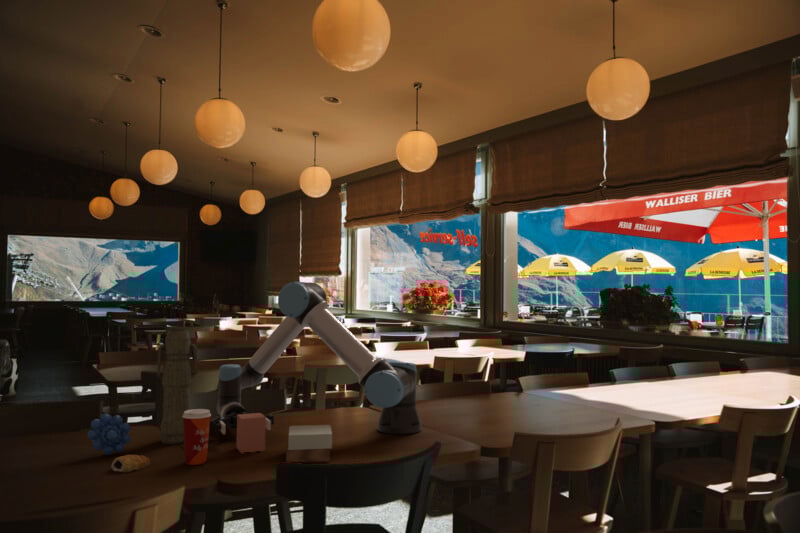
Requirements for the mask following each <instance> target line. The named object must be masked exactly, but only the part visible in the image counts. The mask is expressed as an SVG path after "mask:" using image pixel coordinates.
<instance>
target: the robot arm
mask: <svg viewBox="0 0 800 533" xmlns="http://www.w3.org/2000/svg"><path fill="white" fill-rule="evenodd" d="M327 300H328V299H327V294H326V291H325V289H324V288H323V287H322V286H321V285H320V284H317V283H316V282H305V281H303V282H302V281H293V282H289V283H287V284H285V285H284V286H283V287H282V288H281V289H280V291H279V294H278V298H277V304H278V308H279V310H280V312H281V313H282V314H283V315H285V318H284V319H283V320H282V321H281V323H279V325H277V327H276V328H275V329H274V330H273V332H272V333H270V335H269V336H268V337H267V339H266V340H265V341H264V342H263V343H262V344H261V345H260V347H259V348H258V349H257V350H256V351H255V352H254V354H253V355H252V356H251V357H250V358H249V360H248V361H247V362H246V363H245V364H244V366H241V365H240V364H238V363H237V364H236V363H235V364H234V363H229V364H222V365H221V366H219V370H218V371H219V372H218V397H217V399H218V400H217V401H218V403H217V405H216V414H217V415H215V417H214V418H212V419H210V424H209V431H212V430H214V429H215V431H214V432H215V433H219V432H220V433H221V434H222V435H226V433H227V432H226V427H229V428H231V429H237V415H240V414H252V413H251V412H248V411H247V409H246V408H245V407H244V406H243V405H242V404H241V402H242V401H241V400H242V399H241V397H242V390H244V389H248V388H251V387H255V386H257V385H259V384H261V383H262V382H263V380H264V376H265V374H266V372H267V371H268V370H269V369H270V368H271V367H272V365H274V364H275V362H276V361H277V360H278V359H279V357H280V356H281V355H282V354H283V353H284V352H285V351H286V349H287V348H288V347H289V346H290V345H291V344H292V343H293V341H294V340H295V339H297V337H298V335H299V334H300V333H301V332H302V331H303V330H304V328H310V330H311V331H312V332H313V333H315V335H317V336H318V338H320V339H321V341H323V343H324V344H326V346H328V347H329V349H330V350H331V351H333V353H334V354H335V355H336V356H337V357H338V358H339V359H341V361H342V362H344V364H345V365H347V367H348V368H349V369H351V371H352V372H353V373H354V374H355V375H357V377H358V384H359V386H361V387H362V389H364V393H365V396H366V398H367V400H368V402H370V404H372V405H374V406H375V407H378V408H382V409H381V412H380V415H379V417H378V421H377V431H378V432H380V433H384V434H390V435H391V434H392V435H408V434H409V435H411V434H417V433H419V432H421V431H422V421H421V418H420V414H419V411H418V408H417V389H418V388H417V380H418V379H417V376H418V375H417V374H418V371H417V366H416V364H415V363H413V362H394V361H393V362H392V361H391V362H390V361H389V362H388V360H387V359H386V358H385V357H377V356H375V354H374V353H373V352H372V351H371V350H370V349H369V348H368V347H367V346H366V345H365V344H364V343H363V342H361V340H360V339H359V338H358V337H357V336H356V335H355V334H353V332H352V331H351V330H349V329H348V328H347V326H345V324H343V323H342V322H341V321H340V320H339V318H337V317H336V316H335V315H334V313H333V312H331V311H330V309H328V305H329V304H328V301H327ZM255 413H258V412H257V411H256V412H255ZM261 414H262V415H264V416H265V417H266V429H265V430H268V431H271V429H272V428H271V427H272V425H275V416H274V415H270V414H263V413H261Z"/></svg>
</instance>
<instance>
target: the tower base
mask: <svg viewBox="0 0 800 533" xmlns="http://www.w3.org/2000/svg"><path fill="white" fill-rule="evenodd" d="M288 444H289V441H288V442H287V446H286V448H285V449H286V450H285V452H286V453H285V462H286V461H291V462H290V463H300V462H299V461H302V462H301V463H312V462H313V463H314V462H315V463H316V462H317V463H318V462H330V461H331V448H328V449H299V450H288Z"/></svg>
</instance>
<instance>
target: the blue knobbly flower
mask: <svg viewBox="0 0 800 533" xmlns="http://www.w3.org/2000/svg"><path fill="white" fill-rule="evenodd" d="M90 426H91V428H92V429H90V430H88V432H87V437H88V439H89V440H90V441H92V444H91V446H92V448H93V449H94V450H96V451H101V450H102V452H103V454H104V455H106V456H111V455H112V454H113V453H114V451H115V452H116V453H122V452H124V450H125V445H128V444H129V443H131V440H132V437H131V435H130V434H129V433H130V431H131V426H130V424H129V423H127V422H124V419H123V417H122V416H121V415H119V414H115V415H113V416H112V415H111V414H109V413H106V412H105V413H103V414H101V415H100V419H98V418H94V419H93V420H91V423H90Z"/></svg>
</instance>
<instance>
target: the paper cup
mask: <svg viewBox="0 0 800 533" xmlns="http://www.w3.org/2000/svg"><path fill="white" fill-rule="evenodd" d="M211 416H212V413H211V411H210V409H206V408H196V409H195V408H193V409H190V410H187V411H184V414H183V416H182V417H183V422H184V443H183V445H184V446H183V447H184V462H185V465H189V466H196V465H197V466H198V465H202V464H206V463H205V462H207V458H208V448H209V434H210V430H209V424H210V421H211Z"/></svg>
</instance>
